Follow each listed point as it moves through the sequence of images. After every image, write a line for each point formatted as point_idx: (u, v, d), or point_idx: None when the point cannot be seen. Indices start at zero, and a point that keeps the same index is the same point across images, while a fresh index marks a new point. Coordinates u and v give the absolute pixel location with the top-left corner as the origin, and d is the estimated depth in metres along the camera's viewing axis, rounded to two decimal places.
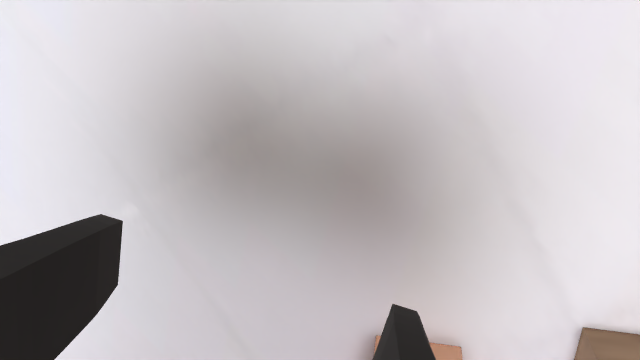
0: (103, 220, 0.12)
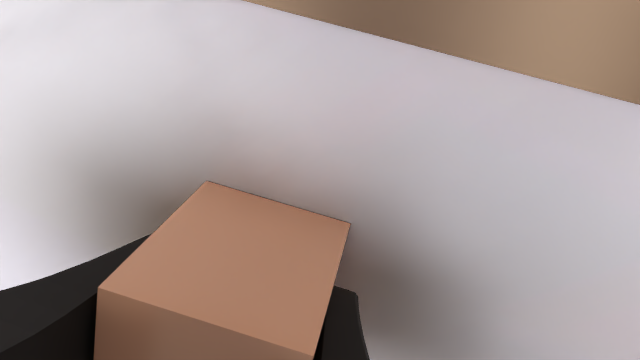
0: None
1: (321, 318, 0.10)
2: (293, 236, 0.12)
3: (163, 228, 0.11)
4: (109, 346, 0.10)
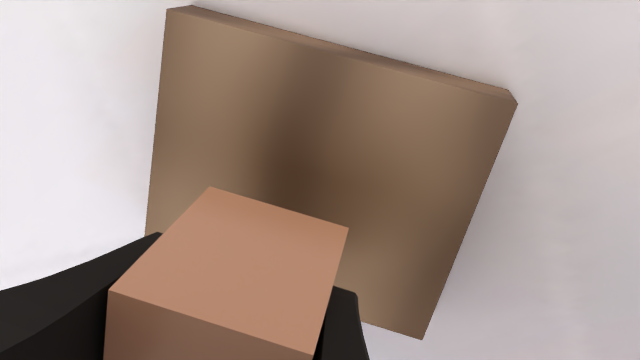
0: None
1: (320, 319, 0.10)
2: (293, 240, 0.13)
3: (169, 232, 0.12)
4: (118, 345, 0.10)
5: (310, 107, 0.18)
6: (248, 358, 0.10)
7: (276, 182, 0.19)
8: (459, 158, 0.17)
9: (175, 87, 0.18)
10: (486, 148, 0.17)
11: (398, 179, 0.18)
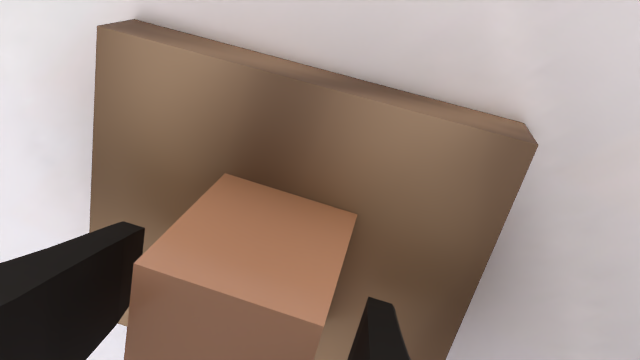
0: (126, 227, 0.12)
1: (330, 295, 0.11)
2: (305, 224, 0.13)
3: (188, 214, 0.12)
4: (141, 316, 0.11)
5: (278, 147, 0.14)
6: (263, 329, 0.10)
7: None
8: (464, 210, 0.14)
9: (113, 121, 0.15)
10: (498, 199, 0.13)
11: (388, 234, 0.14)
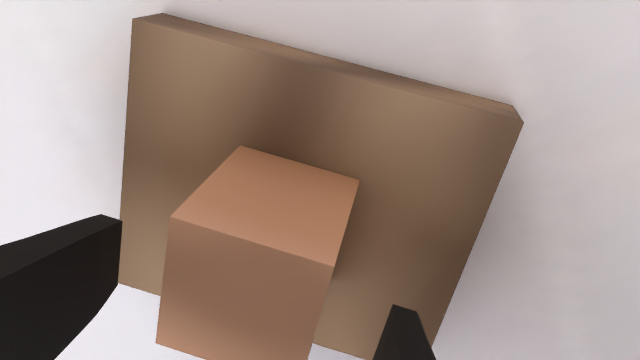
0: (104, 220, 0.12)
1: (338, 243, 0.12)
2: (314, 187, 0.15)
3: (211, 178, 0.14)
4: (175, 264, 0.12)
5: (293, 127, 0.16)
6: (281, 271, 0.12)
7: None
8: (458, 182, 0.16)
9: (145, 104, 0.16)
10: (488, 171, 0.15)
11: (391, 205, 0.16)
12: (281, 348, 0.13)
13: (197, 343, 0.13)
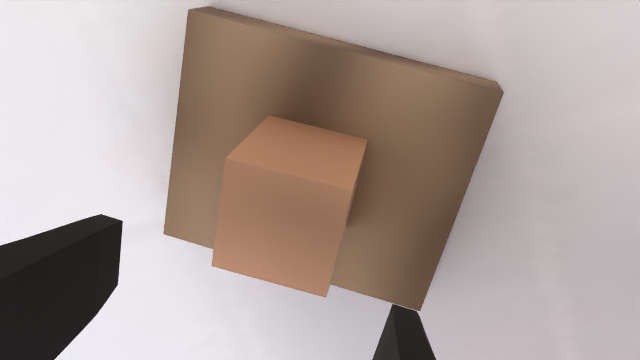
0: (103, 220, 0.12)
1: (354, 177, 0.16)
2: (331, 143, 0.19)
3: (251, 136, 0.18)
4: (229, 197, 0.16)
5: (317, 98, 0.19)
6: (312, 197, 0.16)
7: None
8: (452, 142, 0.19)
9: (195, 80, 0.20)
10: (476, 133, 0.19)
11: (397, 162, 0.20)
12: (312, 262, 0.16)
13: (245, 263, 0.17)
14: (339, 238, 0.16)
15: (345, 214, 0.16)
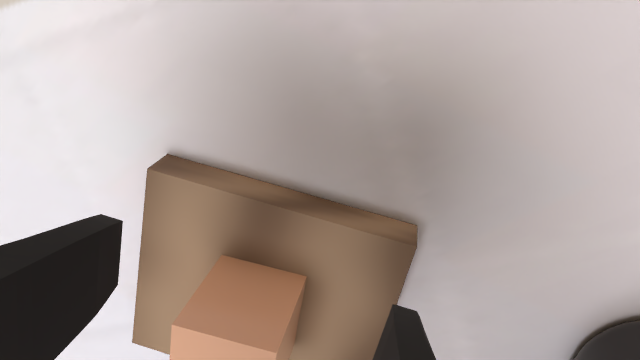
0: (103, 220, 0.12)
1: (282, 334, 0.19)
2: (271, 287, 0.21)
3: (200, 288, 0.21)
4: (177, 353, 0.19)
5: (260, 242, 0.22)
6: (244, 356, 0.18)
7: None
8: (376, 283, 0.22)
9: (155, 223, 0.23)
10: (396, 277, 0.22)
11: (330, 296, 0.23)
12: None
13: None
14: None
15: None
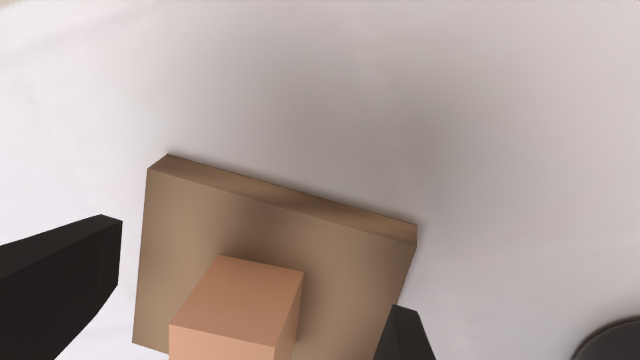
0: (103, 220, 0.12)
1: (280, 328, 0.19)
2: (268, 284, 0.21)
3: (197, 288, 0.21)
4: (176, 353, 0.19)
5: (260, 242, 0.22)
6: (243, 352, 0.18)
7: None
8: (376, 282, 0.22)
9: (155, 223, 0.23)
10: (395, 276, 0.22)
11: (330, 296, 0.23)
12: None
13: None
14: None
15: None
